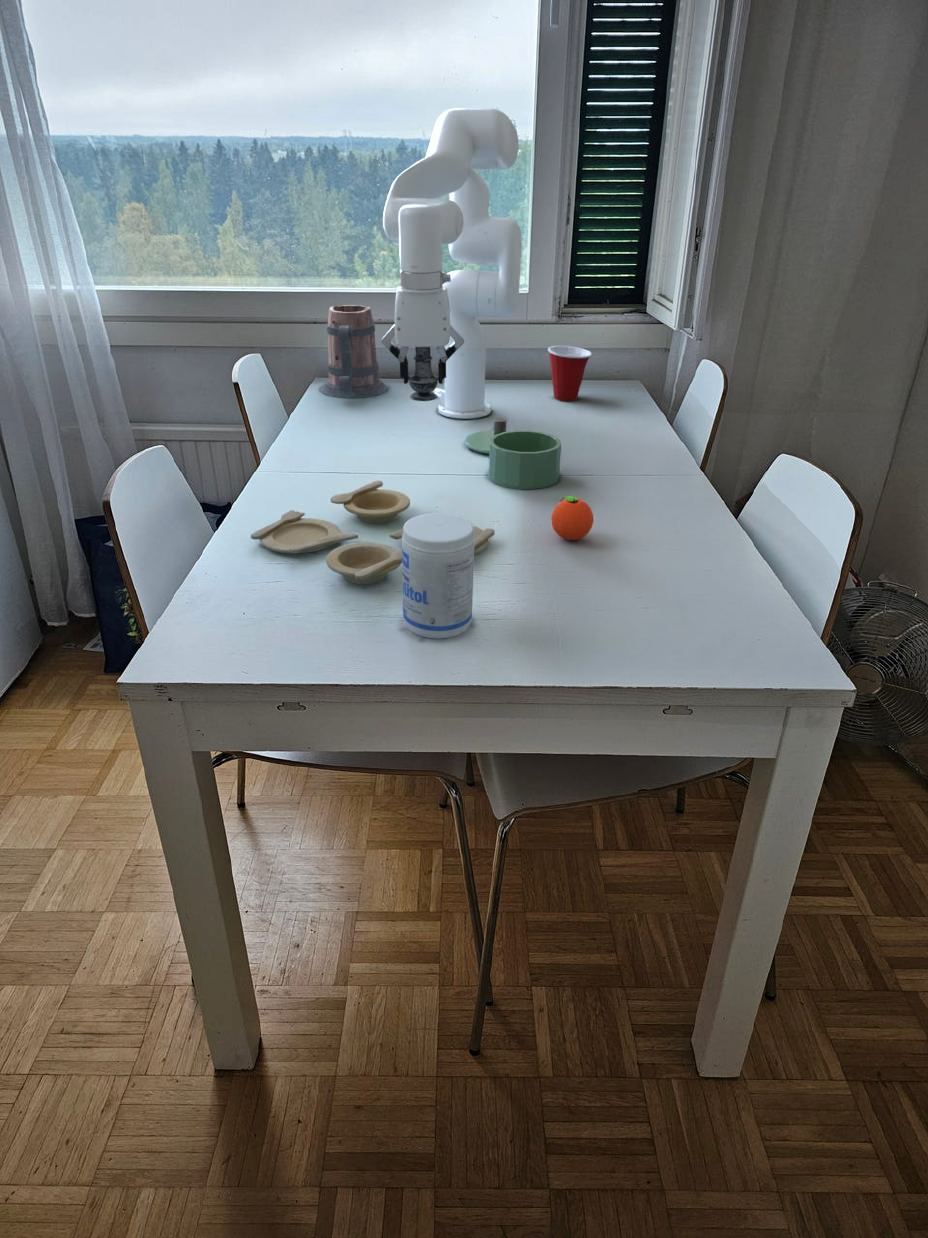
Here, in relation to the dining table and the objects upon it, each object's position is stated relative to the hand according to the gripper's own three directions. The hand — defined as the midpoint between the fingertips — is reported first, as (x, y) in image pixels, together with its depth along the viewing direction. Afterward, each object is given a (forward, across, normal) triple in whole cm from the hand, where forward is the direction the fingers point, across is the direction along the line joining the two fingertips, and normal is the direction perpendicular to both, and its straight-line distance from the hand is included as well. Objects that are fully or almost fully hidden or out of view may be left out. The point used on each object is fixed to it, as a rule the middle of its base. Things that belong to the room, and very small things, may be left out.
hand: (423, 380), depth 164 cm
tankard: (+19, +20, -56) cm, 62 cm away
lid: (+17, -15, -15) cm, 28 cm away
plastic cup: (+19, -34, -52) cm, 65 cm away
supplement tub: (+17, -4, +61) cm, 63 cm away
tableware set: (+17, +7, +35) cm, 40 cm away
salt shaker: (+3, 0, 0) cm, 3 cm away
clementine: (+17, -25, +32) cm, 44 cm away
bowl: (+18, -19, +4) cm, 26 cm away
